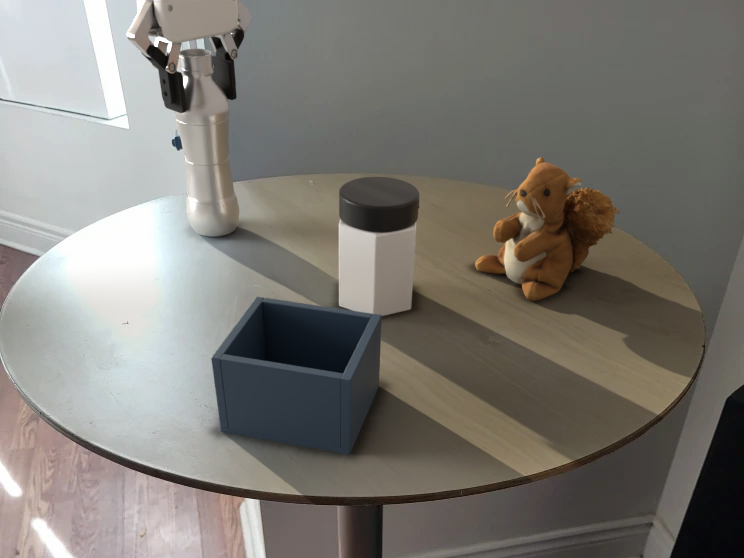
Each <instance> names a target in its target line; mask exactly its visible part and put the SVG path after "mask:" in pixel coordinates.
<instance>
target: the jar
mask: <svg viewBox="0 0 744 558" xmlns="http://www.w3.org/2000/svg"><path fill="white" fill-rule="evenodd" d="M419 209H420V191H419V189H418V188H417V186H415V185H414V184H412V183H410V182H408V181H405V180H403V179H399V178H396V177H395V178H394V177H387V176H365V177H364V176H363V177H359V178H355V179H351V180H349V181H347V182H345V183H344V184H343V185H341V186H340V188H339V189H338V216H339V222H338V307H342V308H343V309H346V310H351V311H358V312H364V313H371V314H379V315H382V317H385V316H388V315H391V314H397V313H400V312H406V311H410V310H412V303H413V302H412V301H413V300H412V299H413V284H414V273H415V271H414V270H415V257H416V256H415V255H416V242H417V241H416V240H417V226H418V225H417V222H418V219H419Z"/></svg>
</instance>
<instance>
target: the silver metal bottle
mask: <svg viewBox="0 0 744 558" xmlns="http://www.w3.org/2000/svg"><path fill="white" fill-rule="evenodd" d="M212 53H213V52H212V51H211V50H210V49H206V48H205V49H204V48H186V49H181V50H180V55H179V60H178V63H179V66H178V68H179V72H181V73H182V75H183V82H184V90H185V98H186V106H187V110H186V112H184V113H179V112H176V111H173V115H174V119H175V123H176V125H177V126H176V127H177V131H178V134H179V138H180V142H181V147H182V148H181V149H182V153H183V156H184V164H185V173H186V176H185V177H186V192H187V193H186V215H187V219H188V222H189V225H190V227H191V228H192V229H193V230H194V232H196V233H197V234H198V235H201V236H204V237H205V236H206V237H222V236H227V235H230V234H231V233H234V231H235V230H236V229H237V227H238V225H239V222H240V205H239V201H238V198H237V194H236V192H235V186H234V181H233V175H232V169H231V162H230V161H231V160H230V140H229V139H230V137H229V136H230V103H229V99H227V96H226V95H225V93H224V91H223V90H222V88H221V87H220V85H219V84H218V83H217V81H216V80H215V79H214V78H213V72H214V71H215V70H214V65H213V59H212V56H213V54H212Z"/></svg>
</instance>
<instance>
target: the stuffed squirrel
mask: <svg viewBox="0 0 744 558" xmlns="http://www.w3.org/2000/svg"><path fill="white" fill-rule="evenodd" d="M582 185H583V179H582V178H579V177H571V176H570V175H569V173H567V172H566V171H565V170H564V169H562V168H560V167H559V166H557V165H555V164H552V163H550V162H546V161H545V158H543V157H538V158H537V159H536V161H535V166H533V167H532V168H531V170H530V171H529V172H528V175H527V177H526V179H525V180H524V181H522V182H521V183H520V184H519V186H518V188H516V189H513V190H511V191H510V192H508V194H507V195H506V196H505V197H504V200H507V199H508V198H509V197H510V195H511V197H510V199H509V200H508V203H507V204H506V207H507V208H509V207H510V204H511V202H512V201H513V200H515V201H514V203H515V204H516V206H517V208H518V210H519V211H518V212H516V213H514V214H512V215H510V216H507V217H505V218H502V219H499V220H498V221H497V222H496V223H495V225H494V227H493V235H492V236H493V238H494V240H495V241H496V242H497V243H500V244H501V243H502V244H503V243H504V244H503V245H502V247H501V248H500V249H499V251H498V253H497V255H496V254H485V255H482V256H480V257H478V258H477V259H476V260H475V262H474V266H475V269H476V270H477V271H478V272H481V273H487V274H493V275H506V277H507V278H508V279H509V280H510V281H512V282H513V283H515V284H519V285H521V288H522V292H523V294H524V296H525V298H526V300H528V301H531V302H535V301H536V302H537V301H540V300H543V299H546V298H548V297H551V296H552V295H554V294H556V293H558V292H560V290H561V289H562V287H563V285H564V283H565V281H566V279H567V277H568V276H569V273H573V272H574V271H575V270H578V269H580V268H581V266H582V263H583V262H584V261H585V260H586V259H587V258H588V256H589V254H590V250H589V249H590V248H591V247H594V246H597V245H598V242H599V241H600V239H603V238H604V236H605V235H608V234H611V235H613V234H614V232H613V229H612V228H614V227H616V226H615V224H614V223H615V218H616V215H617V214H620V213H621V212H620V211H621V210H620V209H617V207H616V206H614V204H613V203H612V202H613V201H612V200H611V197H609V196H608V195H606V194H604V193H603V192H601V191H600V190H598V189H593V188H589V187H587V186H586V187H585V188H584V187H581V186H582ZM580 187H581V188H580ZM512 193H513V194H512ZM514 198H515V199H514Z"/></svg>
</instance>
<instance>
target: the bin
mask: <svg viewBox="0 0 744 558" xmlns="http://www.w3.org/2000/svg"><path fill="white" fill-rule="evenodd" d="M382 319H383V316H382V315H379V314H371V313H364V312H358V311H353V310H350V309H345V308H337V307H336V308H335V307H330V306H324V305H318V304H317V305H316V304H311V303H310V304H309V303H304V302H298V301H297V302H296V301H290V300H283V299H276V298H270V297H264V296H263V297H262V296H256V297H255V298H254V300H253V301H252V302H251V304H250V305H249V306H248V307H247V309H246V310H245V312H243V314H242V315H241V317H240V318H239V320H237V322H236V323H235V325H234V326H233V328H232V329H231V330H230V332H229V333H228V335H227V336H226V337H225V338H224V340H223V341H222V342H221V344H220V345H219V347H218V348H217V349H216V351H215V352H214V353H213V354H212V356H211V357H210V358H211V359H210V361H211V366H212V367H211V368H212V374H213V375H212V376H213V382H214V389H215V390H214V391H215V397H216V404H217V411H218V420H219V426H220V432H221V433H226V434H230V435H231V434H232V435H237V436H242V437H243V436H244V437H248V438H254V439H258V440H259V439H260V440H266V441H269V442H270V441H272V442H276V443H282V444H286V445H287V444H289V445H294V446H299V447H305V448H310V449H315V450H321V451H327V452H333V453H339V454H344V455H351V453H352V451H353V448H354V446H355V443H356V442H357V438H358V436H359V434H360V431H361V429H362V427H363V426H364V422H365V420H366V418H367V415H368V413H369V411H370V408H371V406H372V404H373V401H374V399H375V396H376V394H377V393H378V390H379V388H380V367H381V343H382V321H383V320H382Z"/></svg>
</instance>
